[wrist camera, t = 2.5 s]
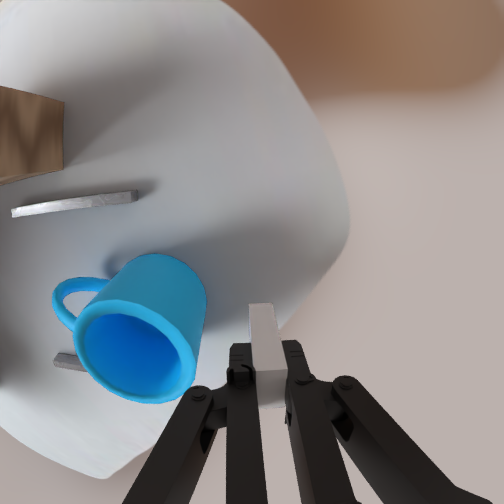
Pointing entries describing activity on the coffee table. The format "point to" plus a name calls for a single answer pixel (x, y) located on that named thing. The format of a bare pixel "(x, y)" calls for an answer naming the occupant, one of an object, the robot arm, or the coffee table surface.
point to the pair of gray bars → (66, 204)
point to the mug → (139, 328)
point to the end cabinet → (29, 135)
